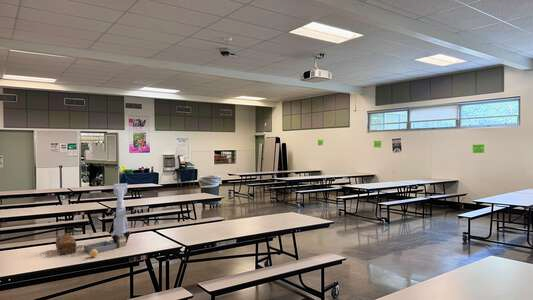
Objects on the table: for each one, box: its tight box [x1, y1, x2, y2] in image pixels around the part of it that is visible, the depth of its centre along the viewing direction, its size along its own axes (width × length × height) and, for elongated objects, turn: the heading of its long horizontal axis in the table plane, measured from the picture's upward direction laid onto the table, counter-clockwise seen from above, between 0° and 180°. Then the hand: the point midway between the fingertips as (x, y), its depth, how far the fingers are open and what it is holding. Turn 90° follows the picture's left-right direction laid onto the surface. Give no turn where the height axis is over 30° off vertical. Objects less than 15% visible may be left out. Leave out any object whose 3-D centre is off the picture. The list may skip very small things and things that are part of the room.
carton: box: [117, 236, 127, 248], centre depth 252 cm, size 5×5×7 cm
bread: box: [55, 234, 77, 256], centre depth 240 cm, size 19×11×10 cm, turn 37°
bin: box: [83, 240, 118, 254], centre depth 244 cm, size 14×16×4 cm
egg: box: [88, 249, 99, 258], centre depth 227 cm, size 5×5×5 cm
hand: (120, 244), depth 252 cm, fingers open, 7 cm apart
